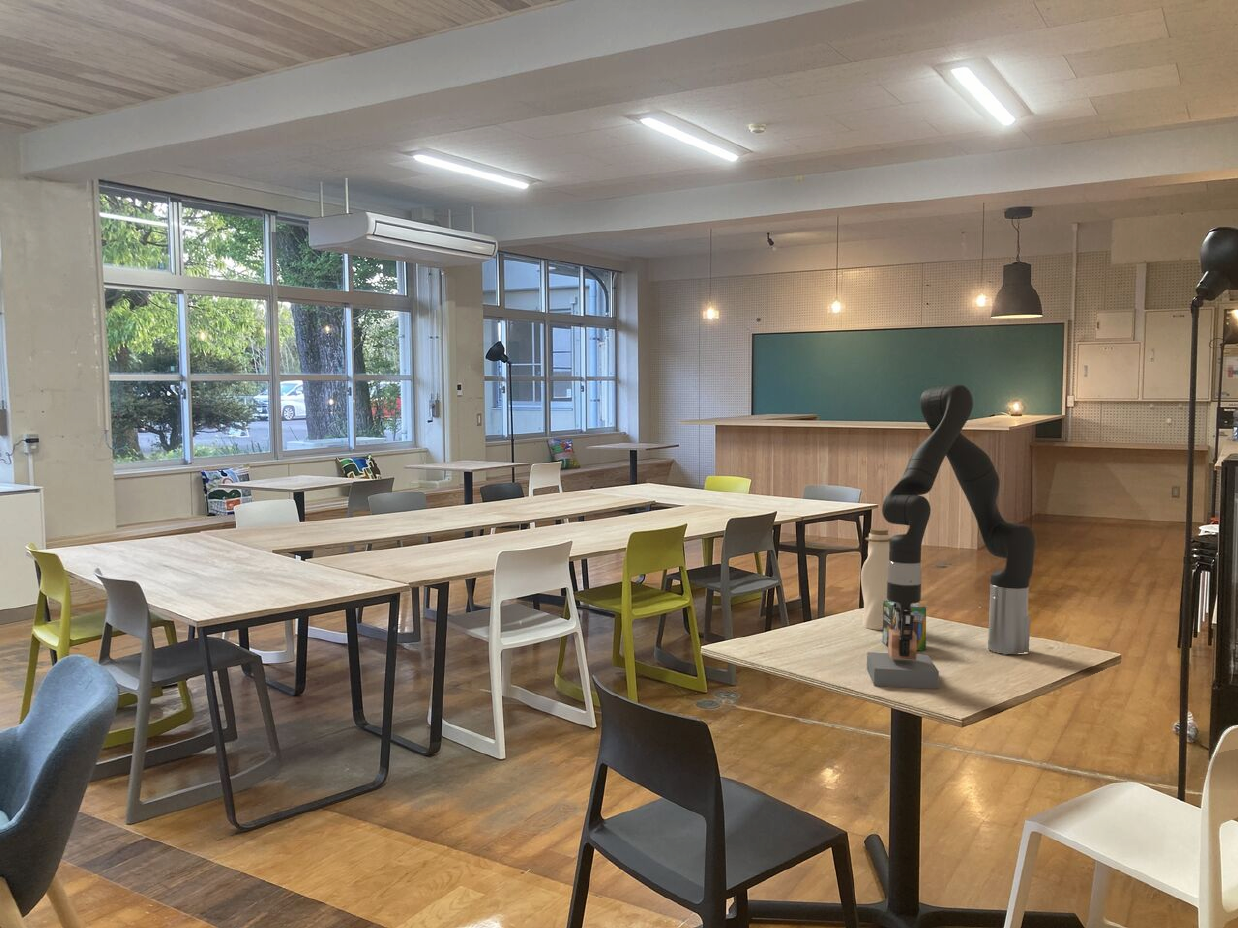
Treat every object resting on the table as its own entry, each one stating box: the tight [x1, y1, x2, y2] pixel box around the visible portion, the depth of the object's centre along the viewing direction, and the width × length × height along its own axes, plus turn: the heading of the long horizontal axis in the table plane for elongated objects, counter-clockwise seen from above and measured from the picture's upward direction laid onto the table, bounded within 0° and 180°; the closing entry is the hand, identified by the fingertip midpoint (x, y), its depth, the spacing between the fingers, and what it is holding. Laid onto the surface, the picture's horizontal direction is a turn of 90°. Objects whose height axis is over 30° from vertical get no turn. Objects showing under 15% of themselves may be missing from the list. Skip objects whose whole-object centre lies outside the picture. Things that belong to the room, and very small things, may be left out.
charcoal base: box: [866, 651, 940, 690], centre depth 220 cm, size 14×14×4 cm
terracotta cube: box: [887, 629, 918, 660], centre depth 219 cm, size 6×6×6 cm
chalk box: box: [882, 601, 927, 651], centre depth 248 cm, size 9×9×15 cm
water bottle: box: [860, 527, 891, 631], centre depth 270 cm, size 10×9×28 cm
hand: (902, 652), depth 219 cm, fingers closed on terracotta cube, 5 cm apart
